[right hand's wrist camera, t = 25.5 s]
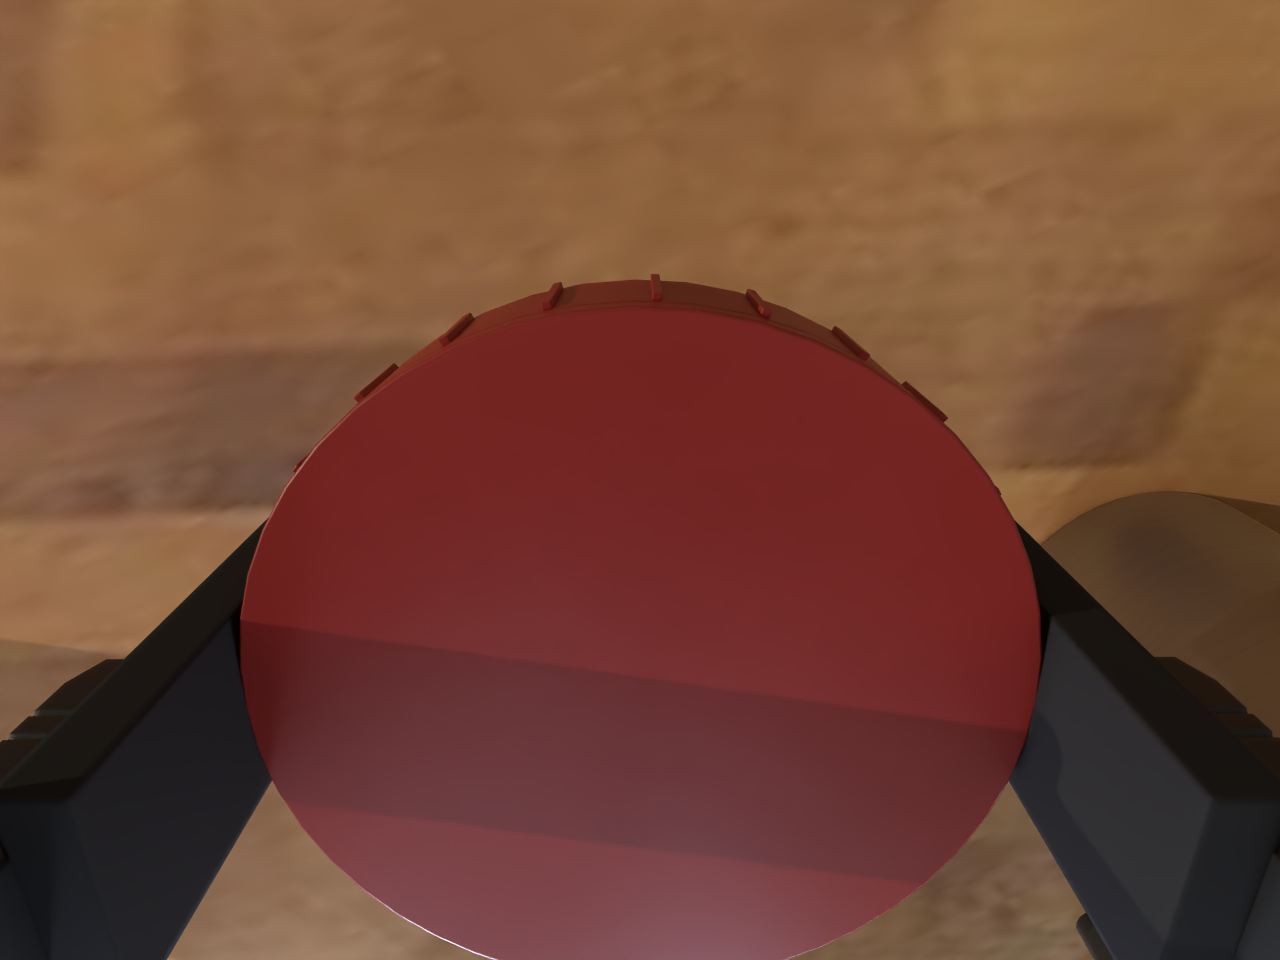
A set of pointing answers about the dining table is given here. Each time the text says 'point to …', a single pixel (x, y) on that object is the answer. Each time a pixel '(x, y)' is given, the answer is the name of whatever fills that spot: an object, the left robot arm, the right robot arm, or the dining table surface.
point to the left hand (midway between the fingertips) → (1169, 646)
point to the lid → (640, 632)
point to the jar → (1187, 586)
